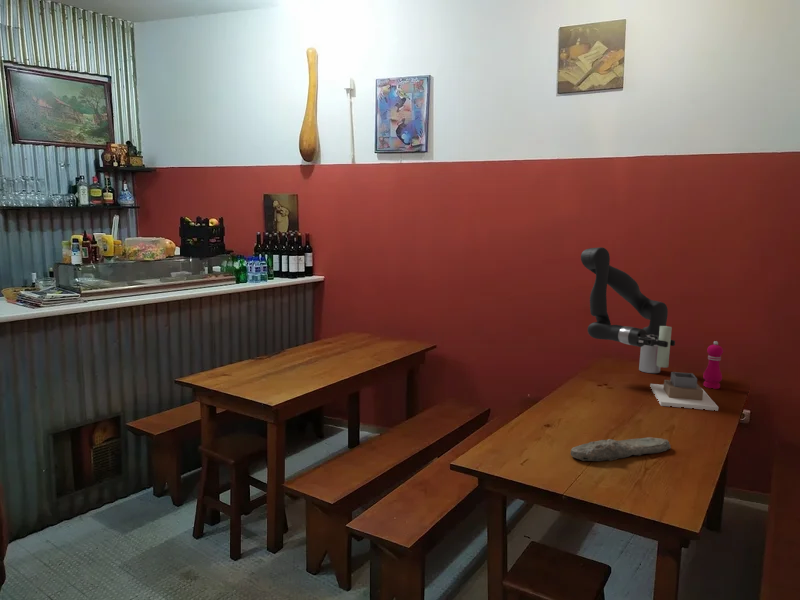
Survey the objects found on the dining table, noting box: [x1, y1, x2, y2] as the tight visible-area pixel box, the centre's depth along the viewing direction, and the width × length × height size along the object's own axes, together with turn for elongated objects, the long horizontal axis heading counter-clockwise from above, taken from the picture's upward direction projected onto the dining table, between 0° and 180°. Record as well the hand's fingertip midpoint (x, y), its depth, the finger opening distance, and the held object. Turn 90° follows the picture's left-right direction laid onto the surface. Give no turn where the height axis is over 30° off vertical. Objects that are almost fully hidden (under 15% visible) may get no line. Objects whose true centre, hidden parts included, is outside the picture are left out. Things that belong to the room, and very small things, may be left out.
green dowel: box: [656, 325, 673, 368], centre depth 239 cm, size 4×4×16 cm
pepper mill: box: [702, 340, 724, 390], centre depth 255 cm, size 7×7×20 cm
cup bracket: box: [649, 371, 719, 412], centre depth 239 cm, size 26×20×10 cm
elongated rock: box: [570, 436, 672, 462], centre depth 182 cm, size 35×5×10 cm
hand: (670, 343), depth 237 cm, fingers closed on green dowel, 4 cm apart
